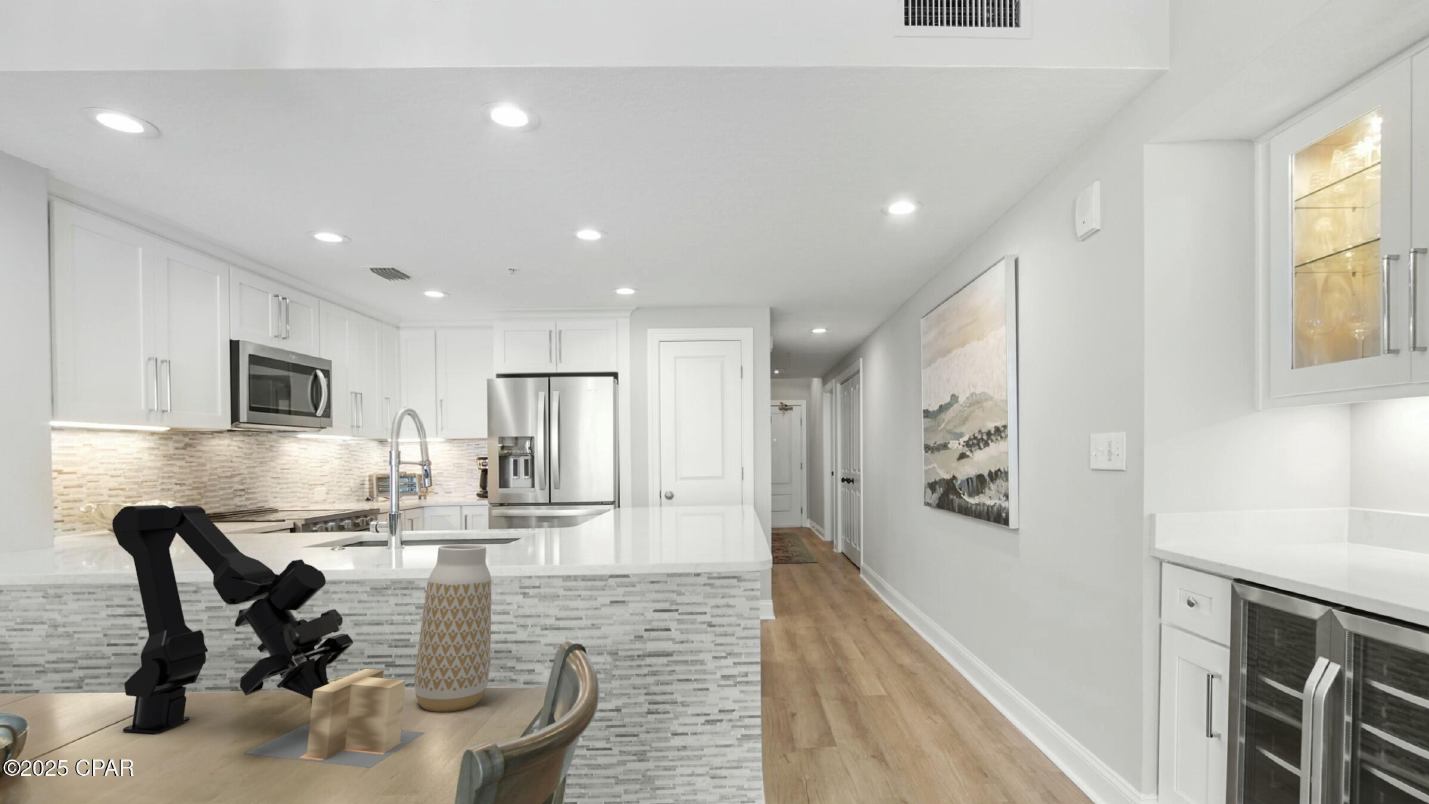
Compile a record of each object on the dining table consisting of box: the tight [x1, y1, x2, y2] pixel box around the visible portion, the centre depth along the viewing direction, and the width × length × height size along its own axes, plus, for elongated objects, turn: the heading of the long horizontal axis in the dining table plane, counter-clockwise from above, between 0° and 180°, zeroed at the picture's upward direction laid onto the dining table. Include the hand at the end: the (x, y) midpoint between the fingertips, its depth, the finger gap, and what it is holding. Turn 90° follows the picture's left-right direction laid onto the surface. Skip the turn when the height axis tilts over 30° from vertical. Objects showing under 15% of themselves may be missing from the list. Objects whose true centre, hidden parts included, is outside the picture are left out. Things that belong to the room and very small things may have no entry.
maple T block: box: [307, 668, 406, 759], centre depth 106 cm, size 10×12×10 cm
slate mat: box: [244, 722, 426, 769], centre depth 106 cm, size 22×14×1 cm, turn 81°
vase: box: [414, 543, 492, 713], centre depth 128 cm, size 14×14×31 cm
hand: (327, 701), depth 107 cm, fingers closed
